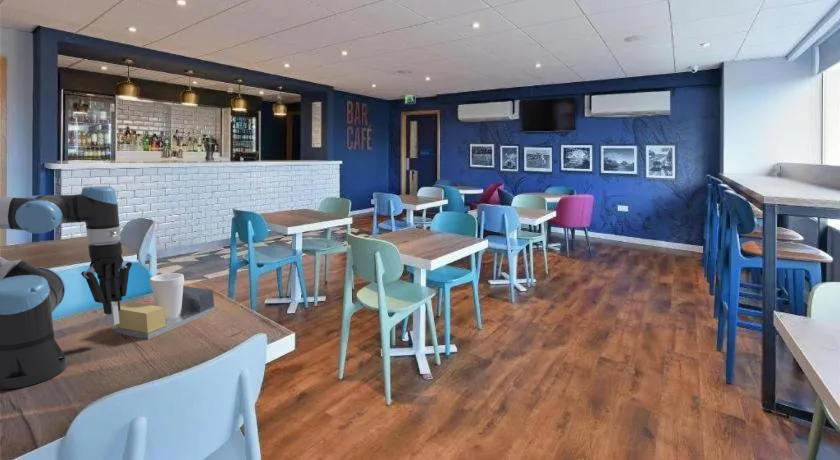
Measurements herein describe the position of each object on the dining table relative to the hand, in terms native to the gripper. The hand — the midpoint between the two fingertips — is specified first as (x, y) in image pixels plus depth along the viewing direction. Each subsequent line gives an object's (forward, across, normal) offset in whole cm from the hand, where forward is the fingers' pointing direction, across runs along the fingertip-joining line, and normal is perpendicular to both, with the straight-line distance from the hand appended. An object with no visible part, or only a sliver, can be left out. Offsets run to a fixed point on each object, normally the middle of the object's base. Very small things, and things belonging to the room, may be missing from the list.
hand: (113, 323), depth 126 cm
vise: (+6, +18, 0) cm, 19 cm away
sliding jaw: (+4, +8, 0) cm, 9 cm away
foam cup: (+4, +19, 0) cm, 19 cm away
